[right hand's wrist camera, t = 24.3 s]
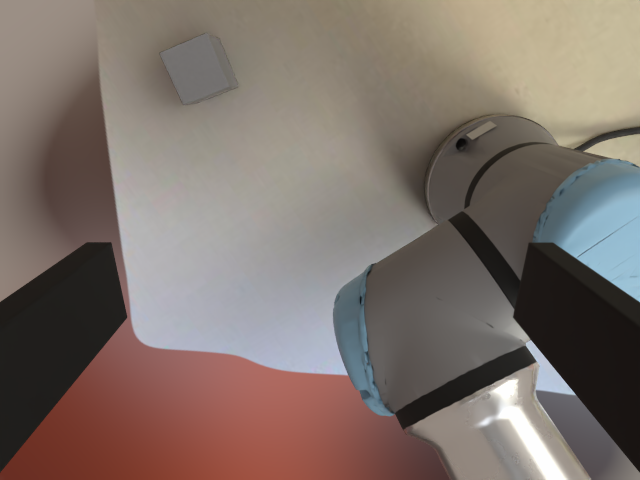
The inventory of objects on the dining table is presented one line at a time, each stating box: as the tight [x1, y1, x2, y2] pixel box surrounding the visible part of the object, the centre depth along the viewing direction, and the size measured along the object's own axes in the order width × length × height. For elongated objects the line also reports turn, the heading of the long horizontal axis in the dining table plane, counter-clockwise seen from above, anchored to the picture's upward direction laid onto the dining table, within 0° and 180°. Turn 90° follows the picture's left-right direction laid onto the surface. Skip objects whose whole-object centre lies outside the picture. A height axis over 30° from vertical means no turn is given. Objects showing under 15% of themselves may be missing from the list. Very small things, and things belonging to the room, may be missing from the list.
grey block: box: [159, 33, 239, 105], centre depth 40 cm, size 5×5×5 cm
